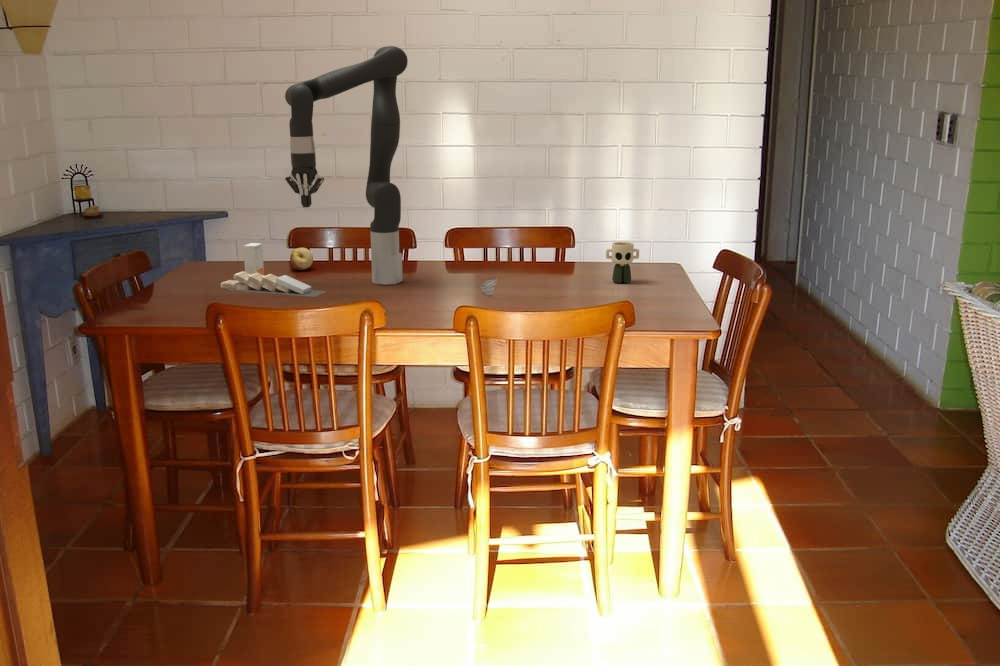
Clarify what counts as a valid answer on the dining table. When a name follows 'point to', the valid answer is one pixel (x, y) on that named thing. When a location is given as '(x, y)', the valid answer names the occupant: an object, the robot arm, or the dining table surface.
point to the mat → (311, 294)
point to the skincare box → (253, 258)
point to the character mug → (622, 260)
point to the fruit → (301, 258)
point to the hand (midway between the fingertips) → (306, 207)
